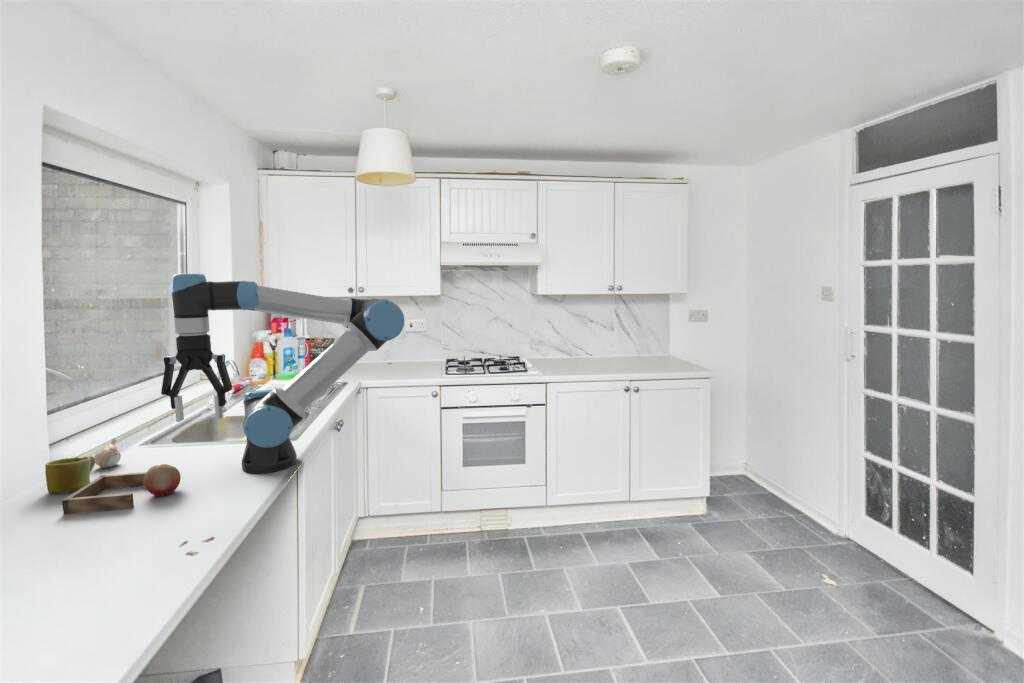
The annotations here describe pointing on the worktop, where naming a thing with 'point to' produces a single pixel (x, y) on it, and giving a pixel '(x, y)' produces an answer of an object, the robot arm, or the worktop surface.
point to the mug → (68, 474)
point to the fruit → (162, 479)
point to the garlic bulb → (108, 455)
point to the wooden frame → (90, 502)
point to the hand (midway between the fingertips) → (199, 419)
